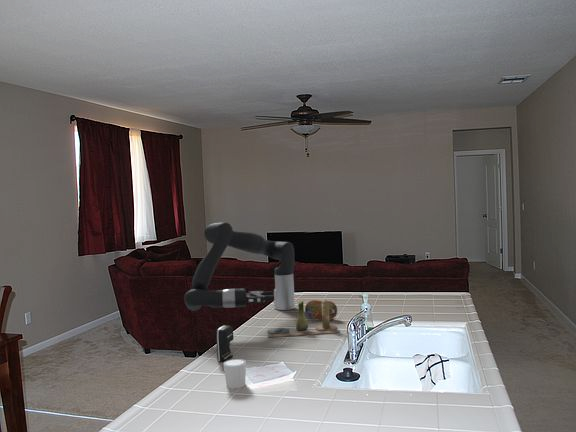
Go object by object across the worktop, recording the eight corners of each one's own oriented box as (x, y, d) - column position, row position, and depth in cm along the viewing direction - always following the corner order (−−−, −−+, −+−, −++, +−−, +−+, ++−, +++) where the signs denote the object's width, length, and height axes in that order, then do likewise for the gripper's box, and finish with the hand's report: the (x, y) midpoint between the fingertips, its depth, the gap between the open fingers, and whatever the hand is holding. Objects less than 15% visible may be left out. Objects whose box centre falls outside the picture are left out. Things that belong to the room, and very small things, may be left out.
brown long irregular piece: (268, 337, 205) (267, 308, 204) (267, 329, 217) (265, 301, 217) (340, 333, 207) (339, 303, 207) (334, 325, 220) (333, 297, 219)
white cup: (238, 390, 151) (236, 367, 151) (219, 387, 155) (218, 364, 154) (251, 383, 157) (250, 360, 157) (234, 379, 161) (232, 357, 160)
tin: (305, 318, 234) (304, 300, 233) (308, 317, 237) (307, 298, 236) (335, 321, 227) (335, 302, 226) (338, 319, 230) (337, 300, 229)
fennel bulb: (301, 327, 218) (300, 299, 217) (311, 329, 215) (310, 300, 214) (293, 331, 213) (292, 302, 213) (302, 332, 210) (301, 303, 210)
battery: (226, 362, 177) (224, 330, 176) (216, 361, 178) (215, 329, 178) (235, 356, 183) (234, 324, 183) (226, 355, 185) (224, 324, 184)
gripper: (233, 292, 204) (274, 289, 205) (234, 285, 218) (272, 284, 219) (234, 310, 204) (275, 308, 205) (234, 303, 218) (272, 301, 219)
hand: (273, 296), depth 212 cm, fingers open, 8 cm apart
